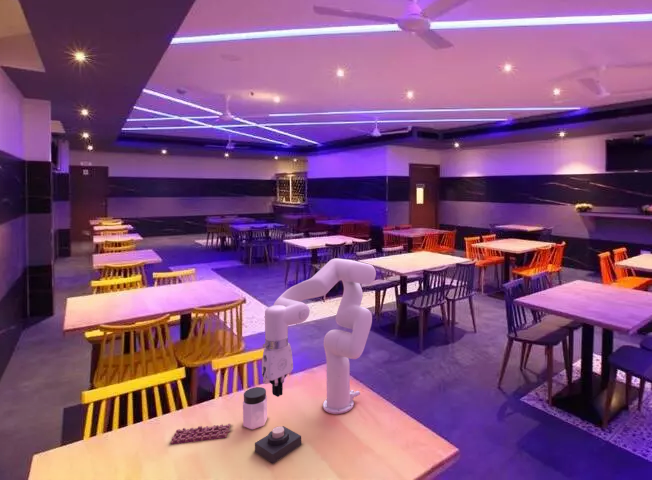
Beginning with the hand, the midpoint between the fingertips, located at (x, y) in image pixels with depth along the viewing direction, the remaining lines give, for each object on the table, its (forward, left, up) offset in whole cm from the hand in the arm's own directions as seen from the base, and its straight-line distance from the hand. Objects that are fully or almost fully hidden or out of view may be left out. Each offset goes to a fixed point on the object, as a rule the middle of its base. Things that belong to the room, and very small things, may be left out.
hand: (277, 394), depth 138 cm
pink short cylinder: (0, 0, -14) cm, 14 cm away
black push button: (0, 0, -19) cm, 19 cm away
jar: (+1, -20, -19) cm, 28 cm away
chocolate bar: (+19, -25, -20) cm, 37 cm away
